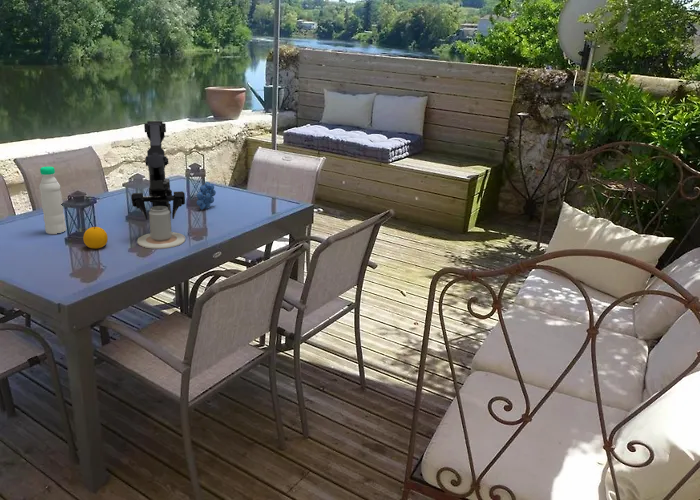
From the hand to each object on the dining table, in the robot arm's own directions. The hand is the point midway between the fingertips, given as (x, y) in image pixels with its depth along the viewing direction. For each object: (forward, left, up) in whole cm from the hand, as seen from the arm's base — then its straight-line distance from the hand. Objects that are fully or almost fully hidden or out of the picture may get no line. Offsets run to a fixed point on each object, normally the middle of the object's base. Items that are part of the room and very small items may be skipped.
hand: (160, 219), depth 209 cm
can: (-1, +1, -8) cm, 8 cm away
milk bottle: (-42, +4, -9) cm, 44 cm away
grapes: (+3, +46, -9) cm, 47 cm away
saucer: (0, +1, -9) cm, 9 cm away
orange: (-20, -9, -9) cm, 24 cm away
